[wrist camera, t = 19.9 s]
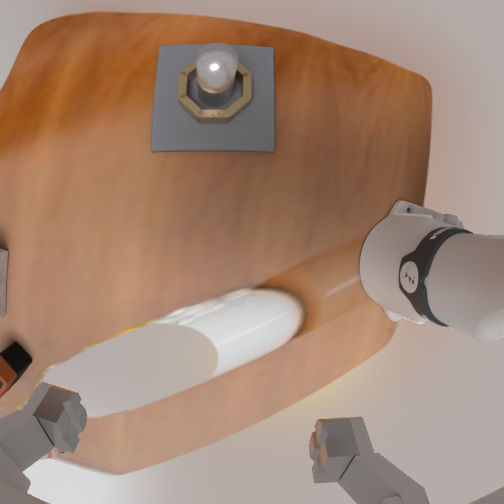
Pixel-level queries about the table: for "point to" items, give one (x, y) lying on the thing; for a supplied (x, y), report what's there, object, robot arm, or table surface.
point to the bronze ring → (213, 115)
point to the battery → (12, 366)
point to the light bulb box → (3, 280)
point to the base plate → (213, 135)
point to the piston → (216, 73)
